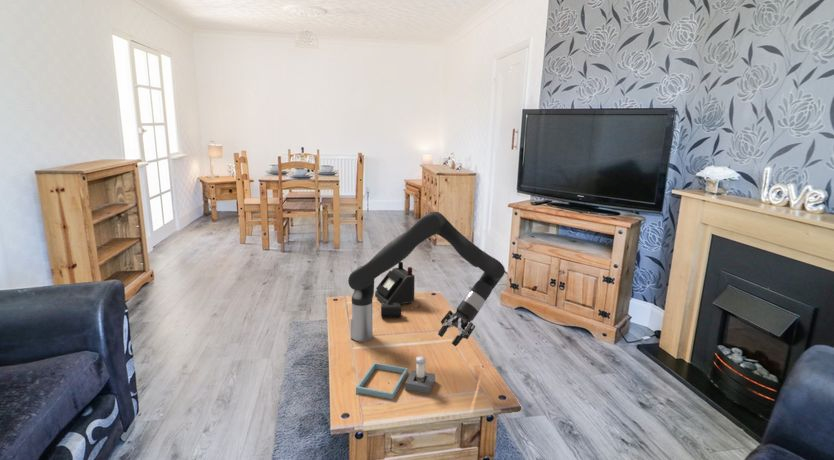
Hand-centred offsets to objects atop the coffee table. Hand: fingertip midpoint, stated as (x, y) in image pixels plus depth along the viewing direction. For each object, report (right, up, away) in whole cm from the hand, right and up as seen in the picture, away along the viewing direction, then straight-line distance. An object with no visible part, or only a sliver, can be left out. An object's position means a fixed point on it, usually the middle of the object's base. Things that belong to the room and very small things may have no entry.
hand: (446, 340), depth 168 cm
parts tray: (-24, -16, -1) cm, 29 cm away
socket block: (-10, -17, -3) cm, 20 cm away
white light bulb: (-10, -16, -3) cm, 19 cm away
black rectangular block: (-24, -3, +58) cm, 63 cm away
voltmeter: (-24, +2, +78) cm, 82 cm away
